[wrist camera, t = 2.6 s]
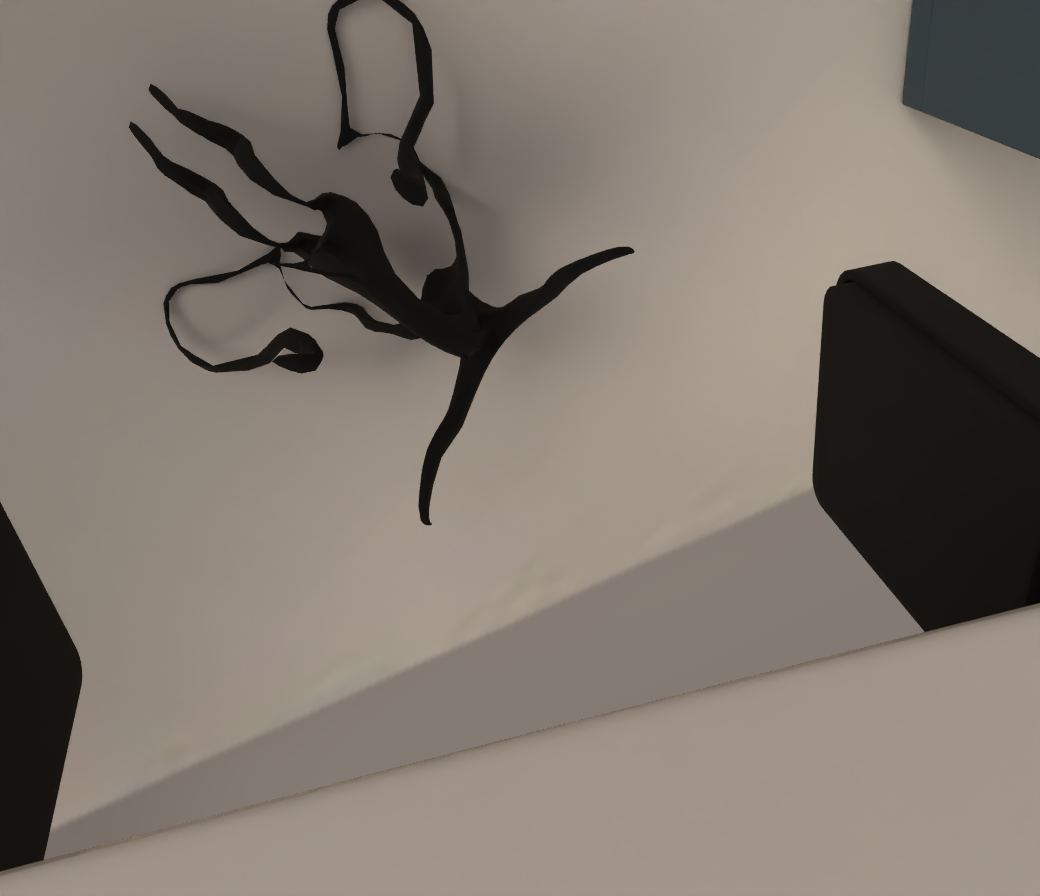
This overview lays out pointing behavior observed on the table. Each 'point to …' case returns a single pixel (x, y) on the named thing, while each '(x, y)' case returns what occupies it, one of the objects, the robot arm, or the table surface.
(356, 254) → the creature
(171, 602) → the table surface
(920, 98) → the teal open box
